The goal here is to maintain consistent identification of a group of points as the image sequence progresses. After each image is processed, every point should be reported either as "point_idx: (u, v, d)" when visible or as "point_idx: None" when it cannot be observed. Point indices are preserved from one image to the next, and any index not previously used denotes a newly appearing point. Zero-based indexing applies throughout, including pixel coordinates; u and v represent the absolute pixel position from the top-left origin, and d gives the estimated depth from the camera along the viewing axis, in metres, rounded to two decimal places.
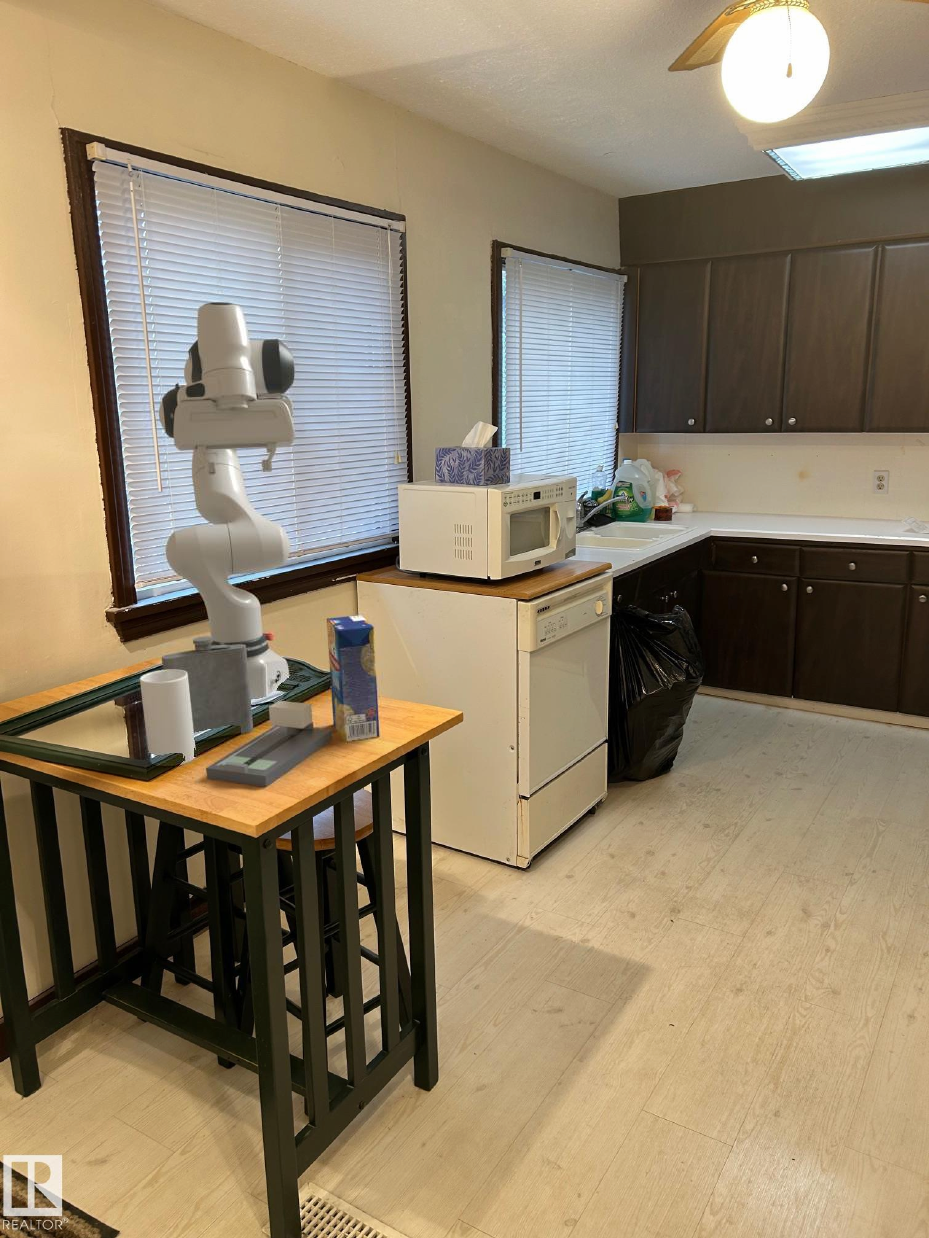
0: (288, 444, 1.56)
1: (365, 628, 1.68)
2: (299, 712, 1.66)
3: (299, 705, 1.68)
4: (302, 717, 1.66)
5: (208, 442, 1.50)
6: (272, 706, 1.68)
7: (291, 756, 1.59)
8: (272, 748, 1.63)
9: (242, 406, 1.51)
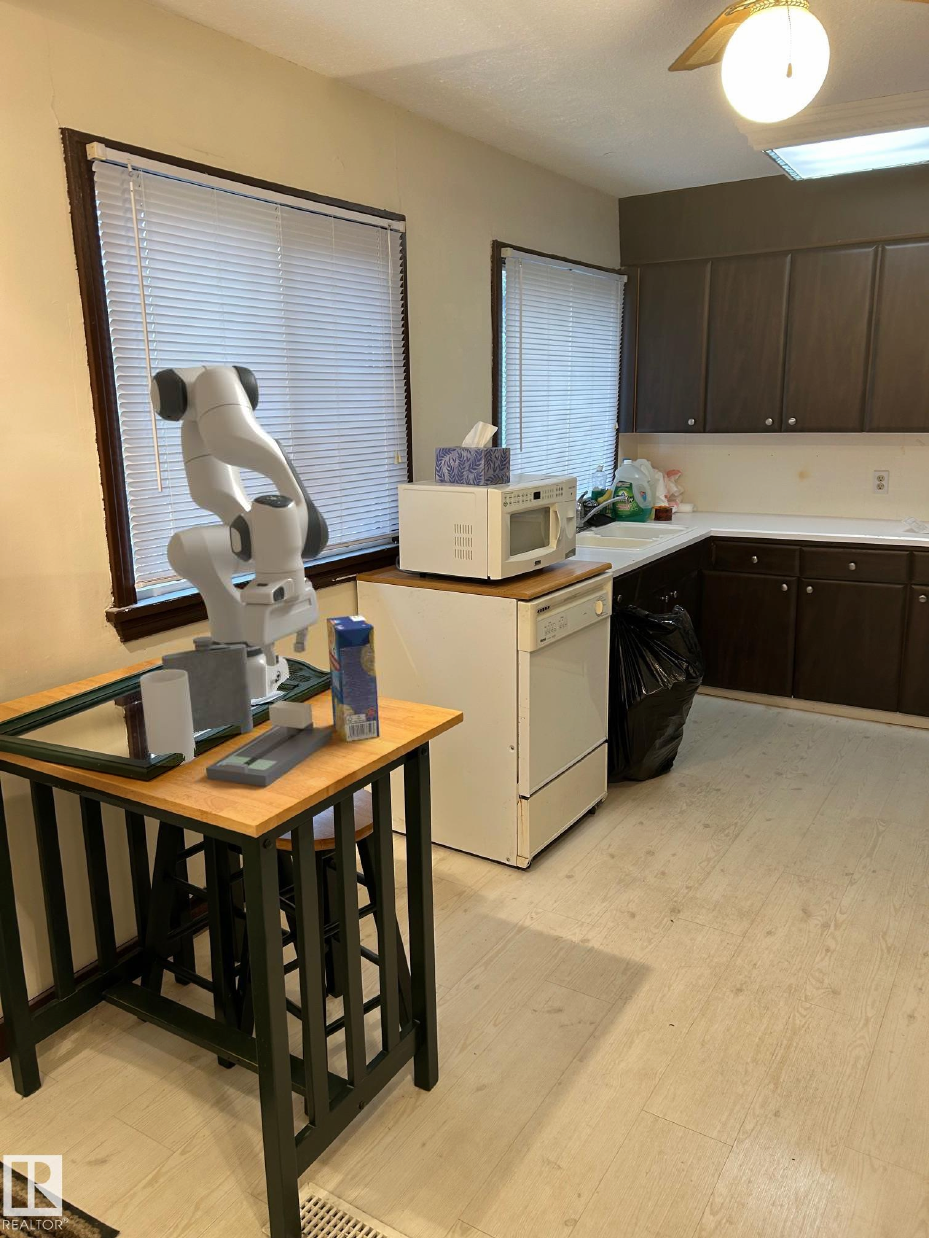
0: None
1: (365, 628, 1.68)
2: (299, 712, 1.66)
3: (299, 705, 1.68)
4: (302, 717, 1.66)
5: (278, 638, 1.60)
6: (272, 706, 1.68)
7: (291, 756, 1.59)
8: (272, 748, 1.63)
9: (299, 601, 1.64)
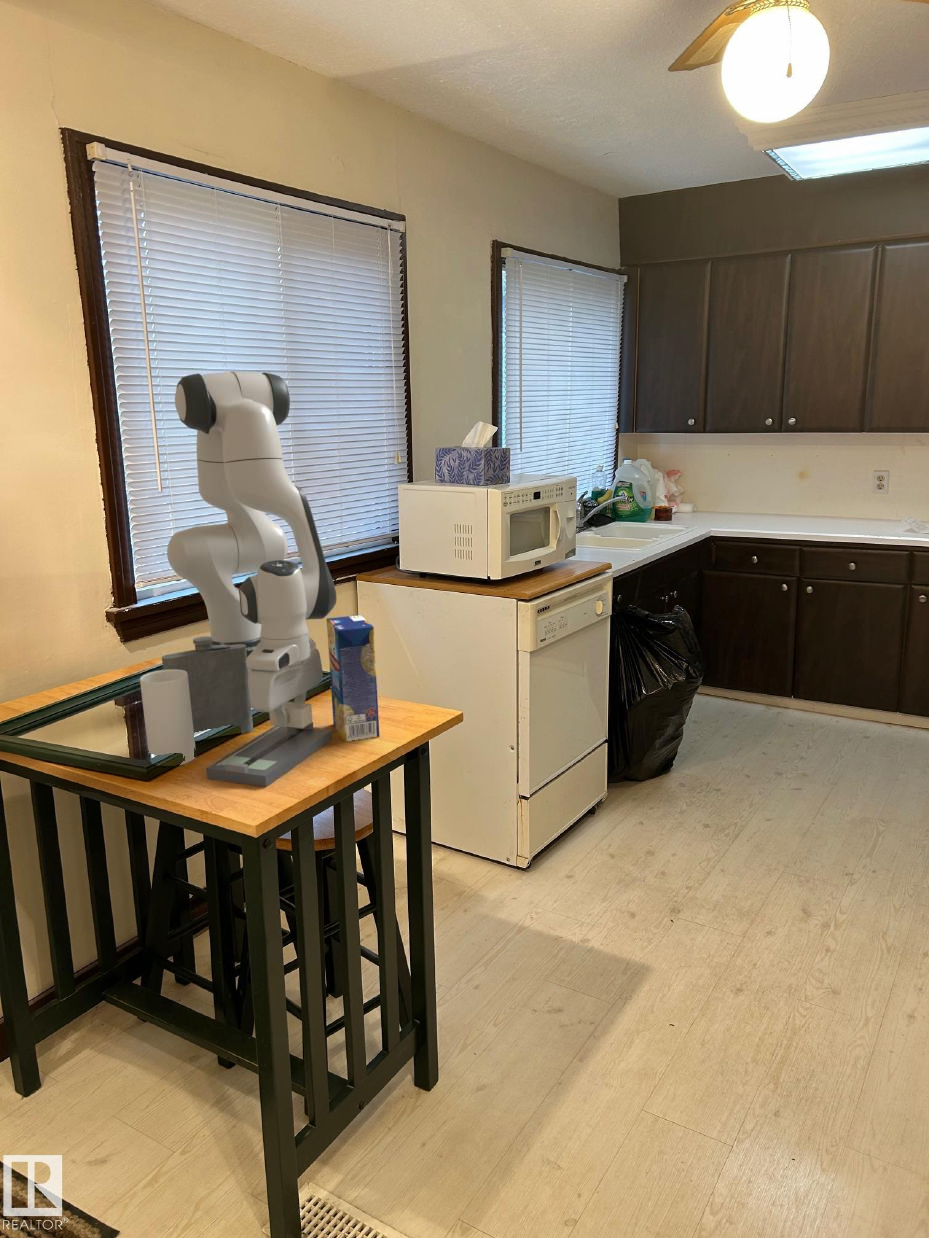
0: None
1: (365, 628, 1.68)
2: (299, 712, 1.66)
3: (299, 705, 1.68)
4: (302, 717, 1.66)
5: (283, 702, 1.63)
6: None
7: (291, 756, 1.59)
8: (272, 748, 1.63)
9: (304, 664, 1.67)
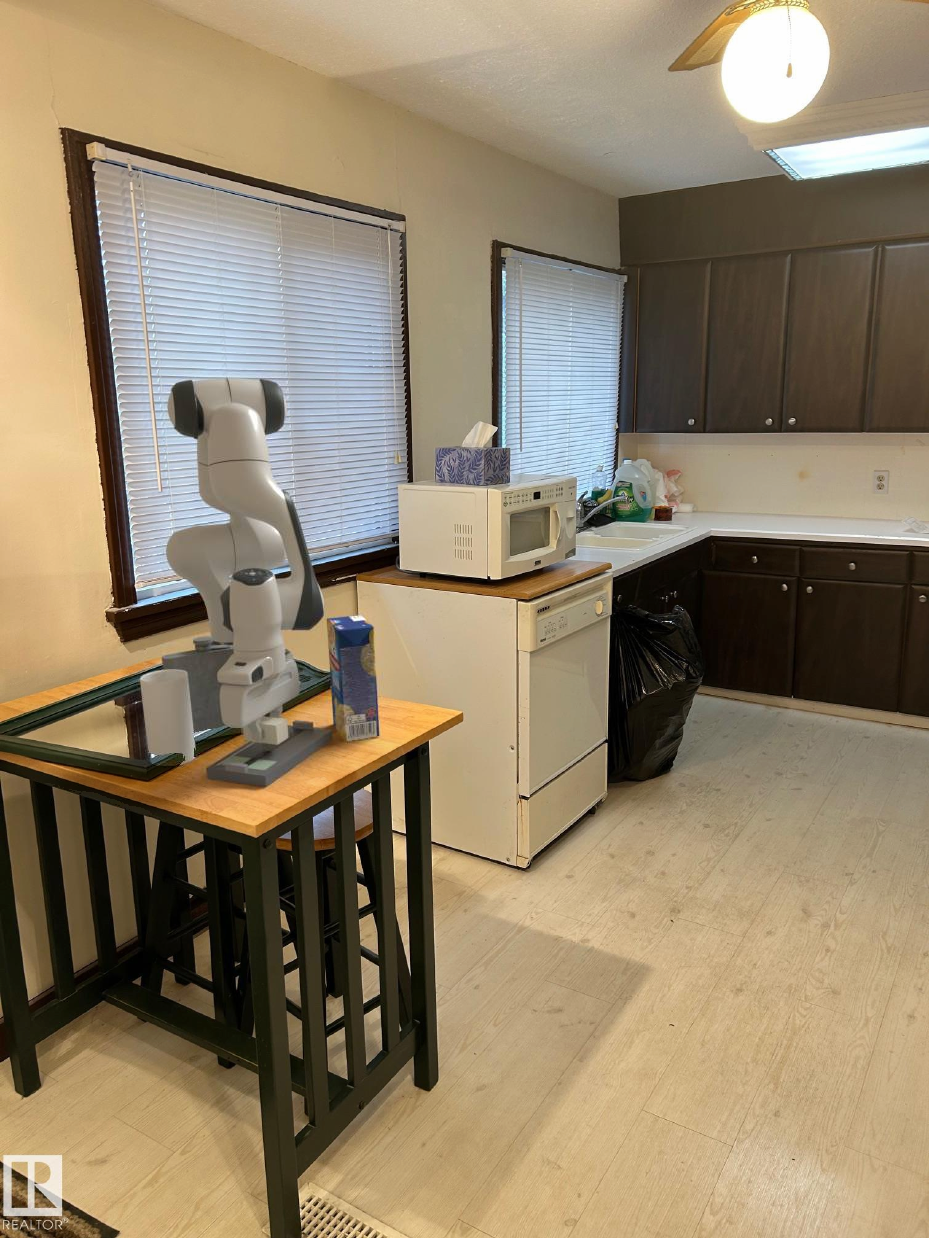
0: None
1: (365, 628, 1.68)
2: (273, 727, 1.58)
3: (274, 720, 1.60)
4: (277, 733, 1.58)
5: (257, 718, 1.55)
6: None
7: (291, 756, 1.59)
8: (272, 748, 1.63)
9: (279, 677, 1.59)
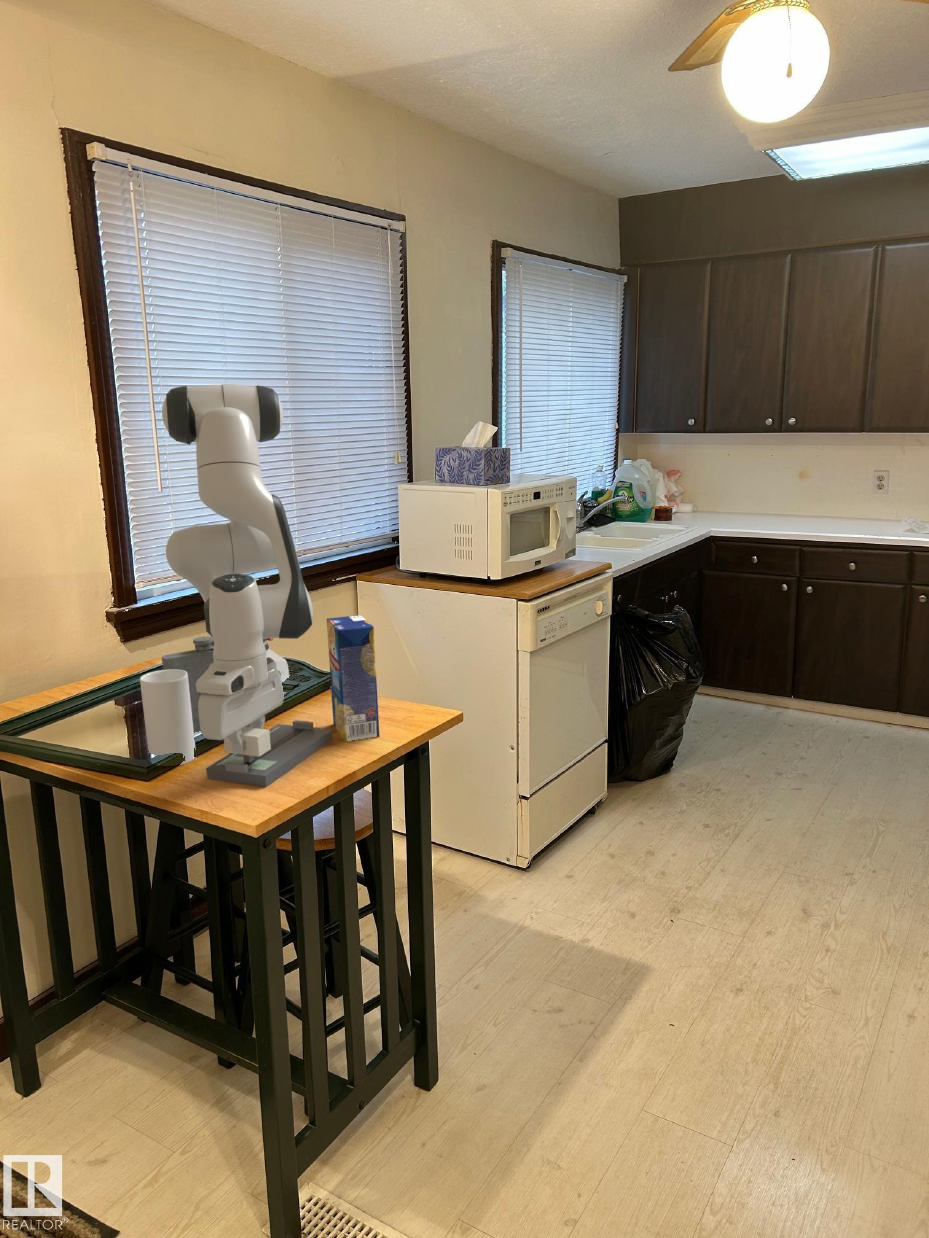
0: None
1: (365, 628, 1.68)
2: (255, 739, 1.53)
3: (256, 731, 1.55)
4: (259, 745, 1.53)
5: (238, 729, 1.50)
6: None
7: (291, 756, 1.59)
8: (272, 748, 1.63)
9: (261, 686, 1.54)
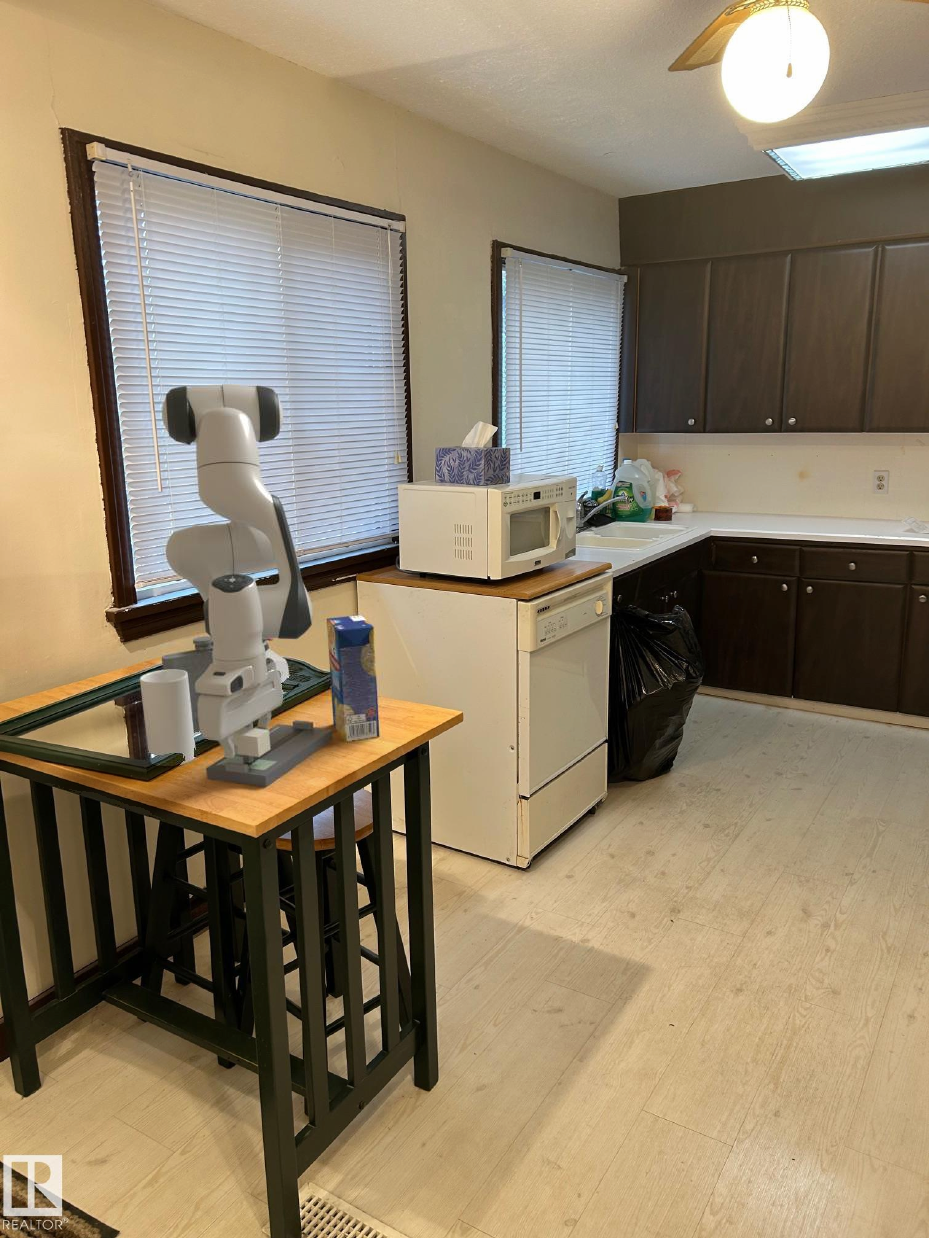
0: None
1: (365, 628, 1.68)
2: (254, 739, 1.53)
3: (256, 732, 1.55)
4: (259, 745, 1.53)
5: (237, 729, 1.50)
6: None
7: (291, 756, 1.59)
8: (272, 748, 1.63)
9: (260, 687, 1.54)
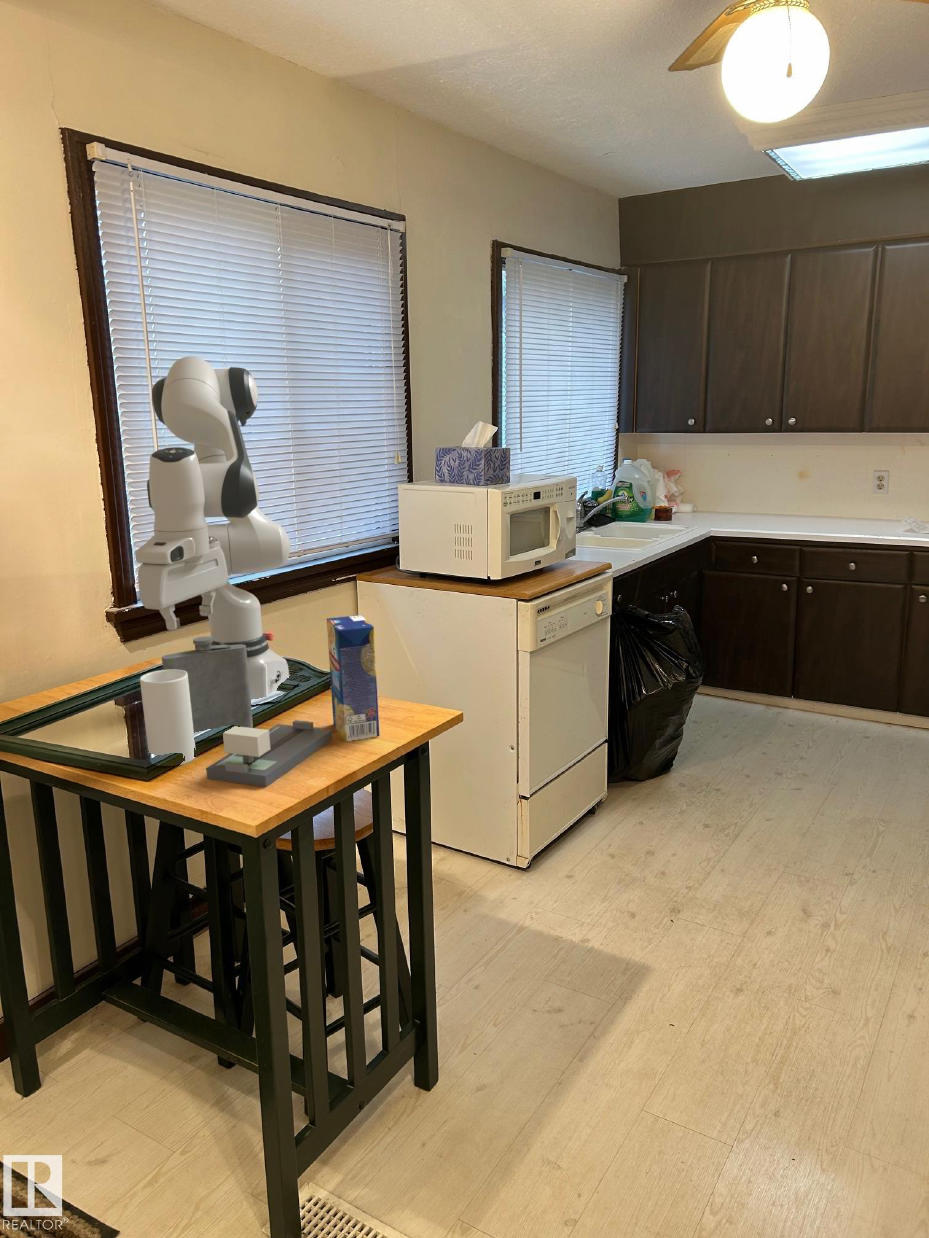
0: None
1: (365, 628, 1.68)
2: (254, 739, 1.53)
3: (256, 732, 1.55)
4: (259, 745, 1.53)
5: (179, 601, 1.51)
6: (226, 732, 1.55)
7: (291, 756, 1.59)
8: (272, 748, 1.63)
9: (203, 561, 1.55)
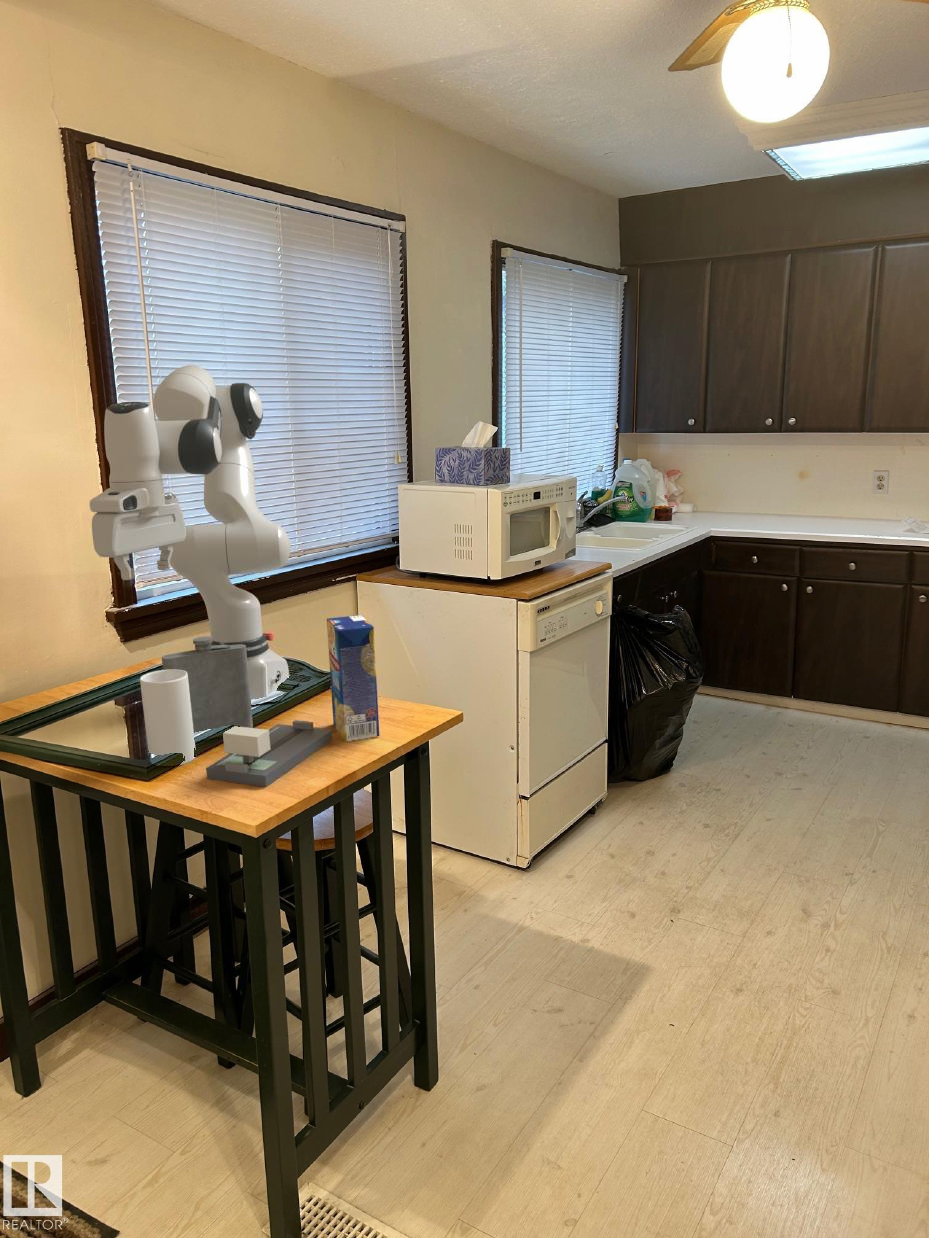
0: None
1: (365, 628, 1.68)
2: (254, 739, 1.53)
3: (256, 732, 1.55)
4: (259, 745, 1.53)
5: (133, 551, 1.54)
6: (226, 732, 1.55)
7: (291, 756, 1.59)
8: (272, 748, 1.63)
9: (158, 514, 1.58)
